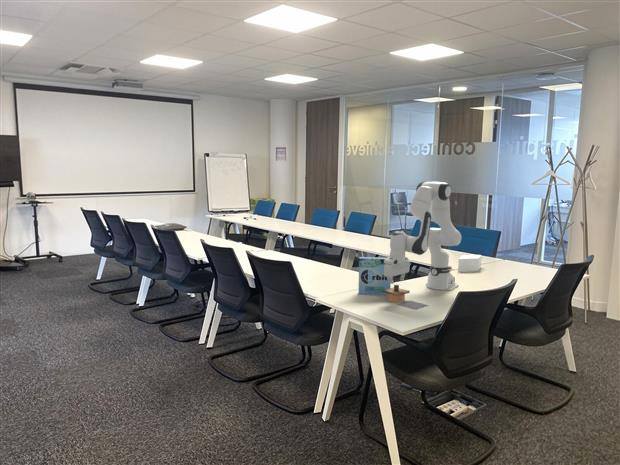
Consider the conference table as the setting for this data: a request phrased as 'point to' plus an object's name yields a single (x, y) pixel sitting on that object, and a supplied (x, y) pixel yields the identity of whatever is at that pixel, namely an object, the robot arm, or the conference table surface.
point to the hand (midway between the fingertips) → (396, 282)
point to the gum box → (372, 276)
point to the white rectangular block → (469, 263)
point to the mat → (412, 305)
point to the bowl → (395, 298)
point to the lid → (396, 291)
